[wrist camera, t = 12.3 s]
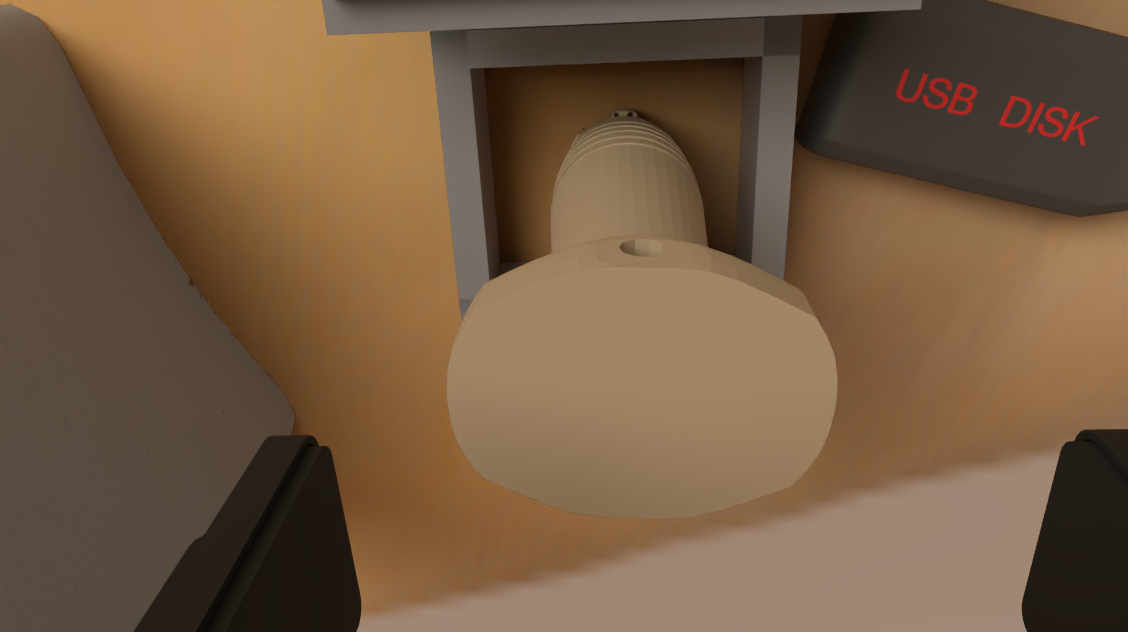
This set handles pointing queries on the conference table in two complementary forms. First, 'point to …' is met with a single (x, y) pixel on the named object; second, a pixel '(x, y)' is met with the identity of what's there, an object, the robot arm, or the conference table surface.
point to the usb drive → (977, 103)
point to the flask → (101, 368)
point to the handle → (638, 351)
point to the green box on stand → (604, 35)
